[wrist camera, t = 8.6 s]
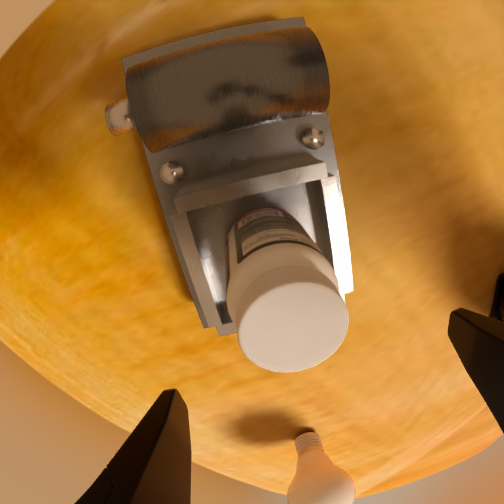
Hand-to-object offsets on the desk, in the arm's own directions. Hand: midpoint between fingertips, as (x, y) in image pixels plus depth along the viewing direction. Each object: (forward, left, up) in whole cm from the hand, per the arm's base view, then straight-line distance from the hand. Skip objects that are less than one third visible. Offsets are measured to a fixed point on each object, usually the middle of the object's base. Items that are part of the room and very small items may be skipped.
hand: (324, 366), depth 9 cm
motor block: (+4, +1, -13) cm, 13 cm away
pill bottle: (0, +1, -11) cm, 11 cm away
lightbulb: (-23, +1, -13) cm, 27 cm away
